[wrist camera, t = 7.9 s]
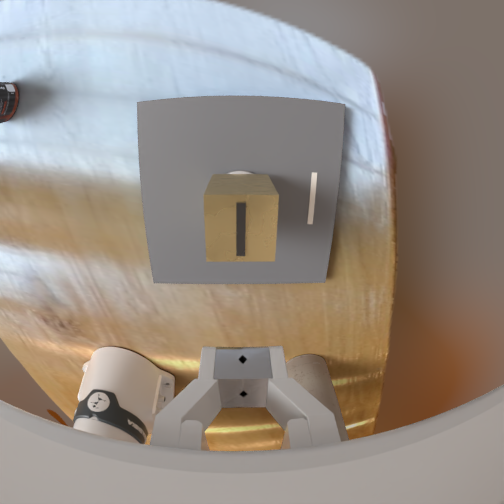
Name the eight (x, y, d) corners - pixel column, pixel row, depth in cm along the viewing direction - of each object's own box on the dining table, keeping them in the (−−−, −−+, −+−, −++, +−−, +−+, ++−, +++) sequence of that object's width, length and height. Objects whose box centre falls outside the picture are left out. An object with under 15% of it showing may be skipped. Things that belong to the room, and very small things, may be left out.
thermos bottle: (311, 385, 48) (341, 522, 23) (273, 378, 46) (292, 529, 21) (334, 358, 45) (380, 507, 20) (295, 349, 43) (329, 518, 18)
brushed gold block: (265, 225, 31) (275, 262, 23) (213, 225, 30) (206, 262, 23) (267, 174, 28) (279, 195, 21) (212, 174, 28) (203, 195, 20)
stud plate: (322, 276, 37) (343, 322, 29) (156, 277, 36) (136, 323, 28) (340, 104, 27) (378, 101, 19) (141, 102, 26) (105, 98, 18)
